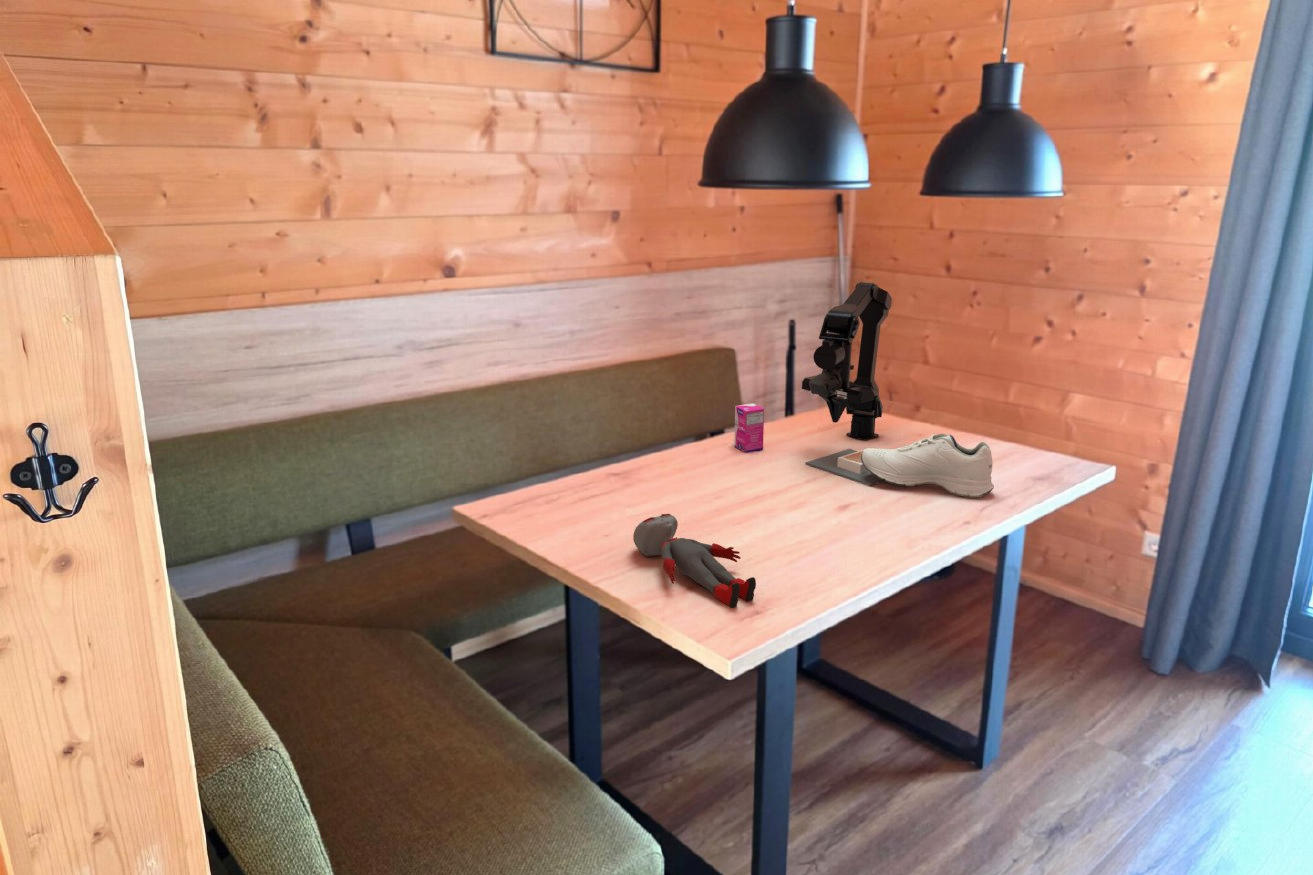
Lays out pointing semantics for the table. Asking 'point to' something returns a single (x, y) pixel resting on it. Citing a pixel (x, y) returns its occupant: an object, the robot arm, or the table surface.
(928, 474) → the running shoe
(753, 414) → the supplement box
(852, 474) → the charcoal mat
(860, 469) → the cream rectangular block
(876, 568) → the table surface
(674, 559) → the toy
